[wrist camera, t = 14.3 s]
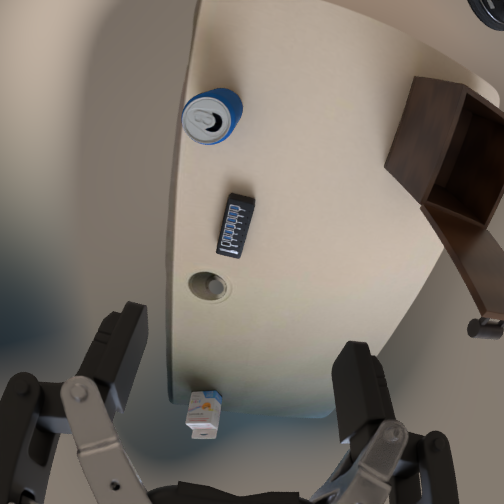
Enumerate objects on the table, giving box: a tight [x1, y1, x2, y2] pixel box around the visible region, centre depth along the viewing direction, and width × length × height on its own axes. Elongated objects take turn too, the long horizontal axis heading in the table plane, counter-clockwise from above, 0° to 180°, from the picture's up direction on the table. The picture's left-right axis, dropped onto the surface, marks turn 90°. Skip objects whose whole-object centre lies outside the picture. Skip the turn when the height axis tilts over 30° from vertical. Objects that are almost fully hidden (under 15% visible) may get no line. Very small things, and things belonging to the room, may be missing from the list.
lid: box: [420, 204, 504, 339], centre depth 28 cm, size 17×14×6 cm
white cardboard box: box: [186, 390, 222, 439], centre depth 80 cm, size 8×5×15 cm, turn 109°
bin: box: [384, 76, 504, 229], centre depth 35 cm, size 17×14×14 cm
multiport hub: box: [216, 193, 255, 259], centre depth 52 cm, size 4×11×2 cm, turn 166°
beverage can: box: [182, 88, 243, 145], centre depth 37 cm, size 6×6×12 cm
